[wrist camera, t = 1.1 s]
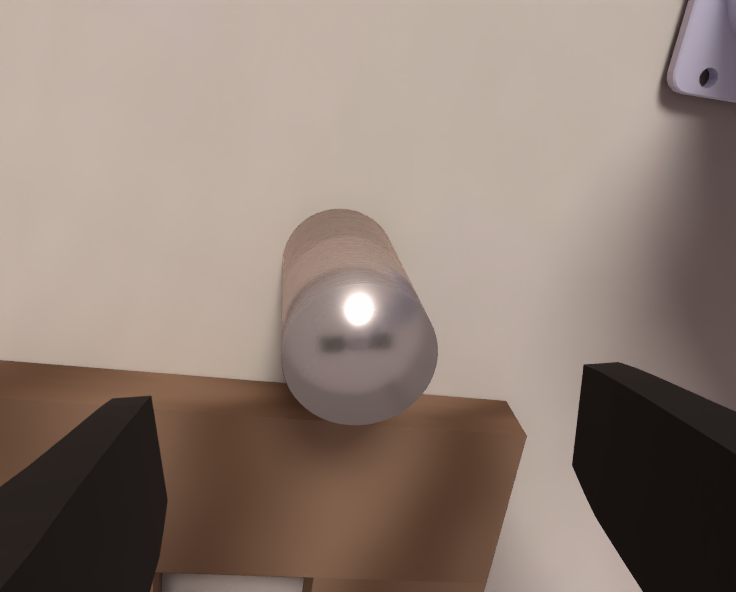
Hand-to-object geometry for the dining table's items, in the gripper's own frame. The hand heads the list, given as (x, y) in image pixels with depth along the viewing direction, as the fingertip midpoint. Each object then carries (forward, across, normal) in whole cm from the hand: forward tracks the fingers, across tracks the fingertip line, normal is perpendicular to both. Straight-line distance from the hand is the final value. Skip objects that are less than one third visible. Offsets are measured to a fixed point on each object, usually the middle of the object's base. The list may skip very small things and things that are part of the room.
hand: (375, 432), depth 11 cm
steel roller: (+9, 0, 0) cm, 9 cm away
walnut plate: (+9, +4, +12) cm, 15 cm away
